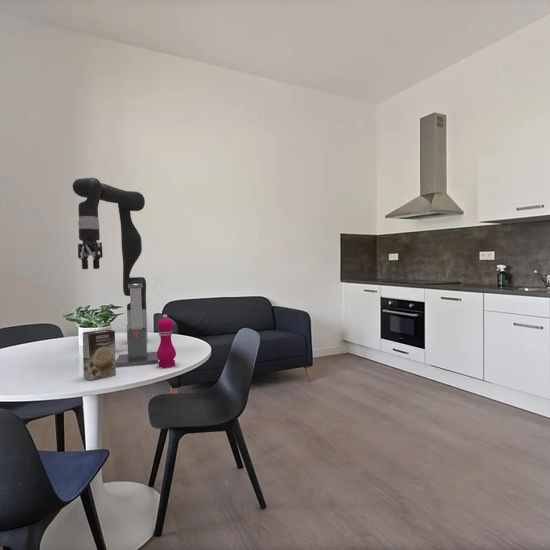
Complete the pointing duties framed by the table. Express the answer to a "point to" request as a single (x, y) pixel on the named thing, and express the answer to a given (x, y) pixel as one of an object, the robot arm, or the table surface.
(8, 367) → the table surface
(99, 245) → the robot arm
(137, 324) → the post
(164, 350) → the pepper mill
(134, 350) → the stand
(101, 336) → the coffee box
